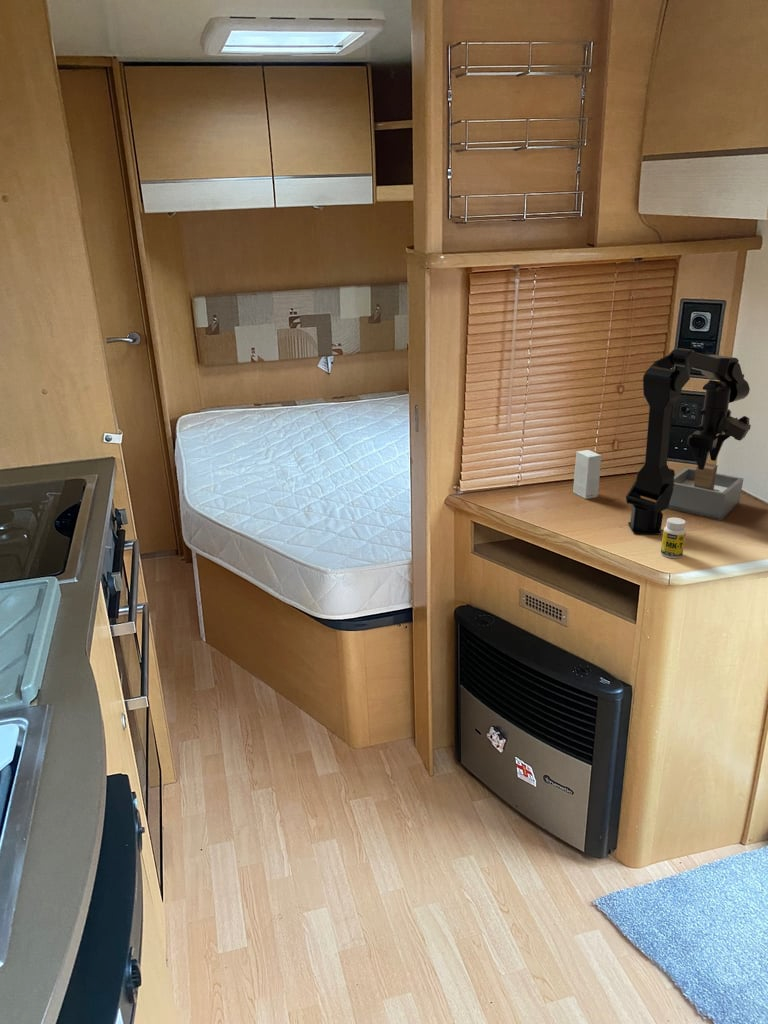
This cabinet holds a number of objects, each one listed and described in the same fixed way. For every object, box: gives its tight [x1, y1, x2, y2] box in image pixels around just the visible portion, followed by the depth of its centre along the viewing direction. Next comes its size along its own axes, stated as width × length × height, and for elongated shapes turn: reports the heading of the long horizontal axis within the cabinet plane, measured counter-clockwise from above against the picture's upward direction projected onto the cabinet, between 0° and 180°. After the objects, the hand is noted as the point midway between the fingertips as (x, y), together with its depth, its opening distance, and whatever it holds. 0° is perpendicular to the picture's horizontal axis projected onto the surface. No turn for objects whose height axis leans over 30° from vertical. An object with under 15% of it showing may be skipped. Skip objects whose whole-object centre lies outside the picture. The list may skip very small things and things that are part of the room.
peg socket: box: [667, 467, 744, 521], centre depth 204 cm, size 15×15×7 cm
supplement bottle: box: [660, 517, 687, 559], centre depth 176 cm, size 5×5×8 cm
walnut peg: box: [694, 462, 718, 491], centre depth 203 cm, size 4×4×10 cm
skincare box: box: [572, 449, 602, 500], centre depth 212 cm, size 6×4×12 cm
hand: (707, 464), depth 201 cm, fingers open, 9 cm apart
